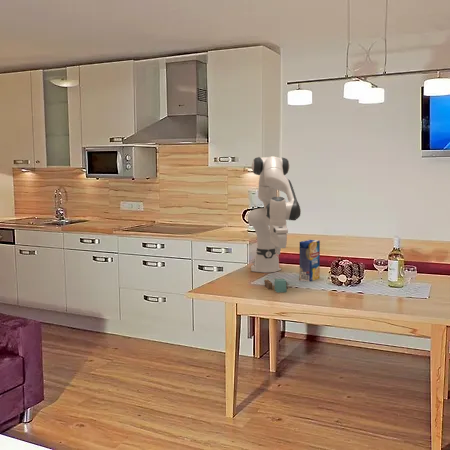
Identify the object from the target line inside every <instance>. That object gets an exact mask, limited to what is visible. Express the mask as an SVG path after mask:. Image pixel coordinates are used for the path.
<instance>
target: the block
mask: <svg viewBox="0 0 450 450" xmlns="http://www.w3.org/2000/svg"><path fill="white" fill-rule="evenodd" d="M286 281H287V280H286V279H285V278H275V279H274V292H276V293H287V289H286Z"/></svg>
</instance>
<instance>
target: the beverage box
mask: <svg viewBox="0 0 450 450" xmlns="http://www.w3.org/2000/svg"><path fill="white" fill-rule="evenodd" d="M320 243H321V240H315V239H307V240H303V241H299V281H302V282H303V281H304V282H312V281H316V280H319V279H320V278H321V277H320V276H321V275H320V274H321V273H320V271H321V269H320V265H321V263H320V261H321V260H320V258H321V257H320V256H321V253H320V251H321V250H320V249H321V248H320V245H321V244H320Z"/></svg>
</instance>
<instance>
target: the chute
mask: <svg viewBox="0 0 450 450" xmlns="http://www.w3.org/2000/svg"><path fill="white" fill-rule="evenodd" d="M264 287H265V288H266V289H267V290H269V291H270V290H271V291H272V290H273V282H272V281H271V280H270V279H264ZM287 289H288V281H287V280H286V290H287Z"/></svg>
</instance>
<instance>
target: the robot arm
mask: <svg viewBox="0 0 450 450" xmlns="http://www.w3.org/2000/svg"><path fill="white" fill-rule="evenodd" d="M251 170H252V173H253V174H254V175H256V176H259V178H258V179H259V180H258V191H257V197H258V199H259V200H260V201H261V202H262V203H263V207H262V208H255V209H252V210H250V211H249V212H248V214H247V222H248V224H249V225H250V226H251V227H252V228H253V229H254V231H255V233H256V241H257V242H256V243H257V247H256V252H255V253H256V255H255V256H254V258H253V259H251V264H253V265H251V266H250V271H251V272H256V273H265V274H266V273H275V272H278V271H282V268H281V267H280V261H279V256H278V255H281V250H282V249H286V247H287V240H288V234H289V229H288V228H287V226H288V225H287V221H297V220H298V219H299V218H300V217H301V214H302V213H301V211H302V210H301V206H300V203H299V201H298V200H297V197H296V192H295V189H294V186H293V185H292V182H291V180H290V179H288V178H287V177H286V176H285V175H287V174H288V173H289V172H290V171H289V170H290V163H289V160H288V158H286V157H278V156H274V155H271V156H264V157H261V156H258V157H255V158H254V159H253V160H252V163H251ZM277 191H280V192H283V193H284V194H286V198H287V200H288V201H286V199H285V198H284V197H282V196H278V195H277V193H278V192H277Z"/></svg>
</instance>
